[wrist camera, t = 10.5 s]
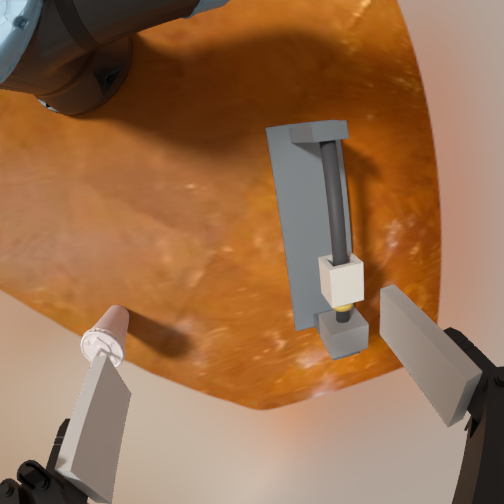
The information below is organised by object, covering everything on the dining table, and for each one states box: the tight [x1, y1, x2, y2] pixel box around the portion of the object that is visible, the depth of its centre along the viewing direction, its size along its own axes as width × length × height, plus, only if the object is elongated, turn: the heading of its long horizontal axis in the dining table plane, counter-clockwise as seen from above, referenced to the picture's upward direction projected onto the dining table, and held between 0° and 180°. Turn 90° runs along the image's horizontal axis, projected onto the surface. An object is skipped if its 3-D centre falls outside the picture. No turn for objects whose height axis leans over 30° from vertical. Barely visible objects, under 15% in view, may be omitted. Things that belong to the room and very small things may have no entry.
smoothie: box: [81, 305, 130, 369], centre depth 38 cm, size 6×6×14 cm
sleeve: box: [318, 251, 364, 308], centre depth 37 cm, size 5×4×4 cm
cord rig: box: [265, 119, 369, 361], centre depth 39 cm, size 31×10×12 cm, turn 10°
